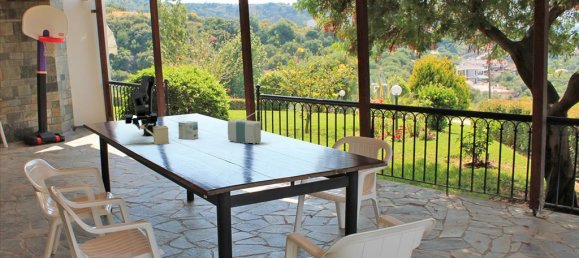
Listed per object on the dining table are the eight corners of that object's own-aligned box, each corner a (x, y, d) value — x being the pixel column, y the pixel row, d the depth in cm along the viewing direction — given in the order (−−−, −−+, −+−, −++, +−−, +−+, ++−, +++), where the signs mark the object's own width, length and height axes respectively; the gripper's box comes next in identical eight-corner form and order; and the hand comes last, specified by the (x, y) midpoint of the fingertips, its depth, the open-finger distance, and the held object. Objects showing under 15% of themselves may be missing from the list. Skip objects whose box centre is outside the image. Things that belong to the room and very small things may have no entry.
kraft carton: (166, 140, 344) (166, 125, 343) (168, 143, 335) (168, 128, 333) (153, 141, 341) (152, 126, 340) (155, 144, 332) (154, 128, 331)
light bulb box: (198, 138, 355) (198, 121, 353) (193, 139, 348) (192, 122, 347) (183, 137, 358) (183, 120, 356) (178, 138, 352) (177, 122, 350)
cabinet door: (153, 132, 340) (141, 122, 337) (155, 134, 332) (142, 124, 328) (151, 135, 340) (138, 125, 337) (152, 137, 331) (139, 127, 328)
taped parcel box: (227, 141, 341) (226, 109, 338) (236, 140, 347) (235, 108, 344) (254, 145, 329) (253, 111, 326) (262, 143, 336) (262, 110, 333)
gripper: (124, 101, 329) (126, 121, 320) (156, 99, 335) (159, 119, 326) (124, 113, 337) (126, 133, 328) (155, 111, 344) (158, 131, 335)
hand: (142, 129), depth 329 cm, fingers open, 3 cm apart
